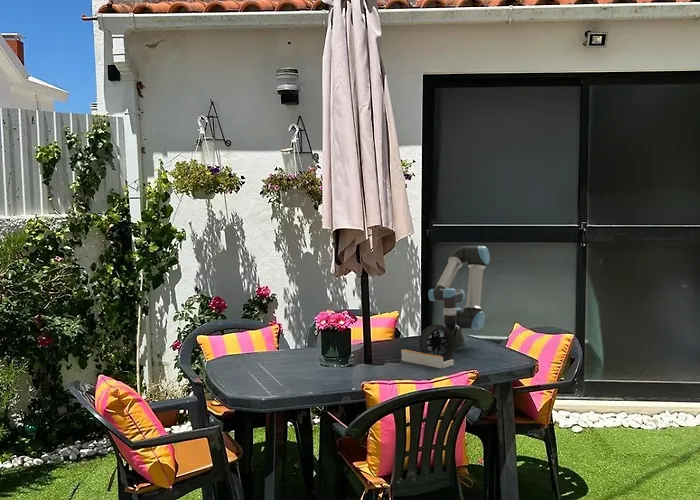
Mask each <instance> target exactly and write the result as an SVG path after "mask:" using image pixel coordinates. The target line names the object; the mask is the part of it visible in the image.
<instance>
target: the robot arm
mask: <svg viewBox="0 0 700 500" xmlns="http://www.w3.org/2000/svg"><path fill="white" fill-rule="evenodd" d="M490 258H491V256H490V251H489V249H488V247H487V246H484V245H469V246H468V245H467V246H466V245H463V246H461V247H459V248H457V249H456V250H454V251H453V253H451V254H450V255H449V258H448V259H447V260H448V261H447V262H448V263H447V265H446V267H445V269H444V270H443V272H442V274H441V276H440V278H439V280H438V281H437V284H436V285H435V287H434V288H431V289H429V290H428V292H427V295H428V299H429V301H431V302H443V312H442V313H443V315H442V318H443V324H441V326H443V327H445V328H447V329H449V330H451V331H452V332H453V333H454V335H455V337H456V341H457V345H456V347H461V346H464V345H466V340H465V337H464V333H463V330H473V331H474V330H475V331H477V330H481V329H482V328H483V327H484V324H485V321H486V314H485V312H484V311H483V308H482V307H481V301H482V300H481V299H482V287H483V276H484V269H486V268H487V267H486V266H487V265H488V264H490V260H491V259H490ZM463 265H467V267H468V268H469V272H468V273H469V274H468V284H467V298H466V293H465V291H464V290H463V289H461V288H457V289H455V288H453V287H451V288H450V286H451V284H452V282H453V280H454V278H455V276H456V275H457V272H458V271H459V269H460V268H462V266H463ZM465 298H466V305H465V306H464V307H463V310H462V307H457V303H461V302H462V301H464V300H465ZM442 332H443V336H444V333H445V331H442ZM443 336H442V337H443ZM444 337H445V338H449V337H448V335H447V333H446V334H445V336H444ZM446 341H449V339H443V342H446ZM443 342H442V343H443ZM444 345H445V347H446V346H447V347H448V345H449V342H448V343H446V344H444ZM444 345H443V346H444Z"/></svg>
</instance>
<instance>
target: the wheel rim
mask: <svg viewBox="0 0 700 500" xmlns="http://www.w3.org/2000/svg"><path fill="white" fill-rule="evenodd" d="M441 325H442V324H441ZM441 325H440V324H432V325H429V326H427V327H426V328H424V329H423V330H422V331H421V334H420V336H419V342H418V344H419V345H418V346H419V348H420V350H421V353H426V354H431V353H432V352H433V355H437V356H443V362H445V361H448V359H450V358H451V357H452V356H453V355H454V354H455V352H456V349H457V346H456V345H457V341H456V337H455V335H454V333H453V332H452V331H451V330H449V329H447V328H445V327H443V326H441ZM443 331H445V333H443V334H444V336H445V334H446V333H447V335H448V337H449V338H445V337H444V336H441V334H440V333H441V332H443ZM430 336H431V337H430ZM443 339H449V341H446V342H443ZM442 342H443V343H442ZM448 342H449V345H448V346H447V347H446V346H445V345H444V344H446V343H448ZM428 347H429V348H431V350H430V351H429V349H428ZM441 347H444V348H445V350H442V349H441ZM435 351H436V352H435ZM440 351H441V352H442V353H440V354H439V352H440Z"/></svg>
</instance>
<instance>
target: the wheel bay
mask: <svg viewBox="0 0 700 500" xmlns="http://www.w3.org/2000/svg"><path fill="white" fill-rule="evenodd" d="M400 351H401V361H403V362H407V363H411V364H417V365H421V366H426V367H427V366H428V367H433V368H437V369H446V368H449V367H452V366H454V365H455V364H454V363H455V360H454V359H449V360H448V359H447V360H444V361H443V356H437V354H435V355H434V354H431V353H430V354H426V353H423V352H419V351H414V350H409V349H401V350H400Z"/></svg>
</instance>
